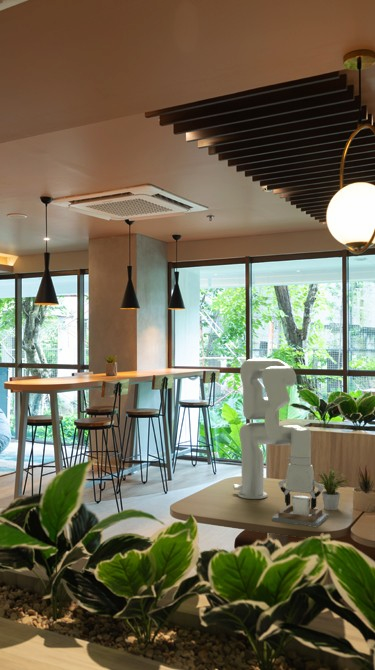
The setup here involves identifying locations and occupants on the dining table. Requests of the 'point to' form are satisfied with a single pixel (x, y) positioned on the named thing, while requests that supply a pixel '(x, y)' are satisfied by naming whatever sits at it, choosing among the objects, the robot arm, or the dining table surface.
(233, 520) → the dining table surface
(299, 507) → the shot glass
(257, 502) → the dining table surface
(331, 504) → the house plant
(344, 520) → the dining table surface
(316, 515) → the tray
